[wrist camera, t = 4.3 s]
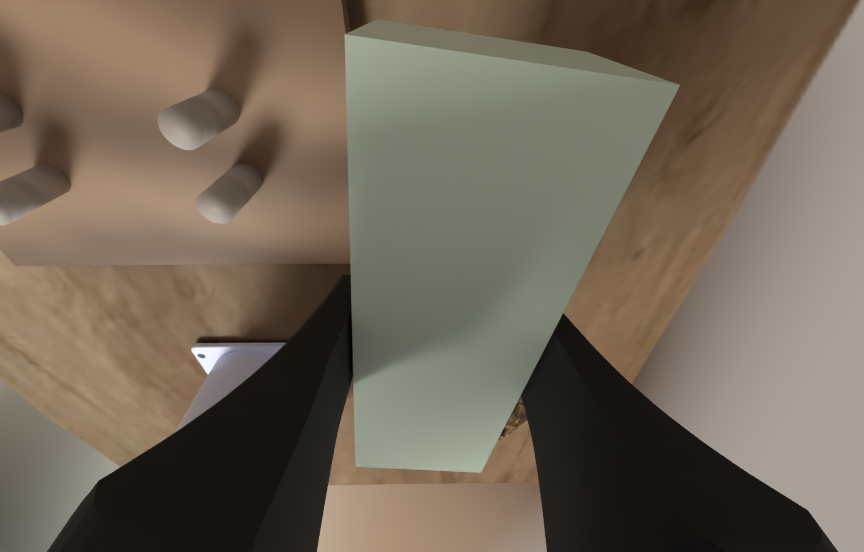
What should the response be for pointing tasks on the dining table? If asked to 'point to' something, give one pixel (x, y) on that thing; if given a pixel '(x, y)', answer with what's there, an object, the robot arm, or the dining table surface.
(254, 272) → the dining table surface
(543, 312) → the pale green rectangular block
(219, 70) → the peg base
